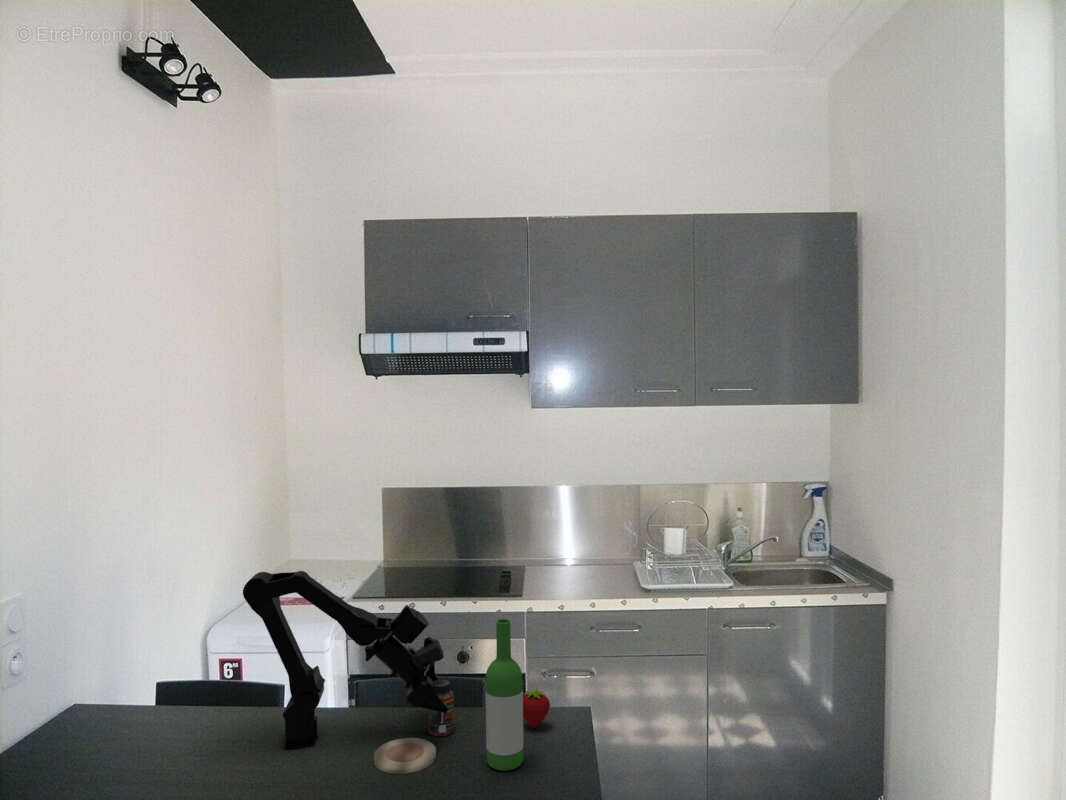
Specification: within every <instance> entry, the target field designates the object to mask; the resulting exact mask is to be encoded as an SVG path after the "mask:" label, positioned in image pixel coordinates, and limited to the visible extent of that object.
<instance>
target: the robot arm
mask: <svg viewBox="0 0 1066 800" xmlns="http://www.w3.org/2000/svg"><path fill="white" fill-rule="evenodd" d="M295 593H296V594H297V595H299V596H300V597H302V598H304V600H305V601H307V602H308V603H310V604H311V605H313V606H315V607H316V608H317V609H319V610H320V611H321V612H323V613H325V614H326V615H328V616H329V617H330V618H331V619H333V620H334V621H336V623H337V624H339V625H340V626H341V628H342V629H343V631H344V633H346V635H347V636H348V637H349V638H350V639H351V640H352V641H353V642H354V643H355V644H356V645H358V646H361V647H365V648H364V651H365V662H369V661H370V660H371V659H372V658H373V657H375V658H377V659H378V660H379V661H380V662H381V663H383V664H384V665H385V666H386V667H387V668H388V669H389V670H390V671H391V672H390V675H392V676H393V677H396V676H397V677H398V678H399V679H400V680H401V681H402V682H403V683H404V687H405V688H406V689H407V693H406V703H407V704H408V705H409V706H410V707H411V708H412V709H414V708H415V709H417V708H422V709H427V710H428V709H431V710H435V711H439V712H442V713H446V712H447V711H448V710H449V709H448V707H447V706H446V705H445V703H444V702H443V701H442V700H441V698H440V697H439V696H438V695H437V693H436V692H435V682H434V681H436V680H441V679H440V678H439V677H438V674H437V673H436V668H435V666H436V665H435V663H436V662H440V661H441V660H443V659H444V657H445V656H444V650H443V649H442V648H443V647H442V646H441V644H440V641H438V639H437V638H436V639H433V638H432V637H430V636H427V637H426V638H424V639H423V646H420V648H419V649H417V650H415V649H414V648H413V647H409V648H407V647H406V645H408V644H412V643H413V642H414V641H415V640H416V639H417V638H418V637H419V636H420V635H421V634H422V633H423V631H424V630H425V629H427V627H428V626H429V625H430V623H429V622H428V620H427V619H426V617H425V616H424V615H423V614H422V613H421V612H420V611H419V610H416V609H415V608H413V607H411V606H409V604H405V605H404V607H402V610H401V611H400V612H399V613H398V614H397V615H396V616H395V617H394V618H390V617H389V618H388V617H380V616H379V617H378V616H377V615H375V614H374V613H372V612H369V611H368V610H366V609H363V608H360V607H356V606H354V605H352V604H350V603H348V602H346V601H345V600H343V599H342V598H341V597H339V596H338V595H337V594H335V593H334V592H332V591H331V590H330V589H328V588H327V587H326V586H324V585H323V584H321V583H320V582H319V581H317V580H315V579H314V578H313V577H311V576H310V575H309V574H308V573H307V572H306V571H304V570H298V571H294V572H278V573H277V572H276V573H271V572H268V571H260V572H257V573H256V574H254V575H253V576H252V577H251V578H250V579H249V580H248V581H247V582H246V583H245V584H244V587H243V589H242V596H243V599H244V600H245V602H246V603H247V604H248V606H249V607H250V609H251V610H252V611H253V612H254V613H256V614H257V615H258V616H259V617H260V618H261V619H262V621H263V623H264V625H265V628H266V630H267V632H268V634H269V636H270V638H271V641H272V643H273V645H274V648H275V649H276V652H277V654H278V656H279V659H280V660H281V662H282V664H283V667H284V669H285V672H286V674H287V676H288V683H289V692H290V698H289V701H288V702H287V704H286V706H285V709H284V710H283V713H282V717H283V719H284V736H285V737H284V739H285V740H284V745H283V746H284V750H291V749H297V748H306V747H312V746H313V747H314V746H315V745H316V740H317V739H318V738H319V735H318V734H319V731H318V730H319V724H318V723H319V722H318V721H319V719H318V715H315V714H316V709H317V708H318V706H319V704H320V702H321V699H322V696H323V694H324V690H325V683H326V679H325V678H324V677H323V675H322V674H321V670H320V667H319V665H316V666H315V667H313V668H312V666H310V665H309V664H308V663H307V660H306V659H305V658H304V656H303V653H302V651H301V648H300V646H299V644H298V642H297V640H296V638H295V635H294V633H293V631H292V629H291V627H290V625H289V621H288V620H287V618H286V616H285V613H284V611H283V609H282V606H281V598H280V597H282V596H286V595H289V594H295ZM433 682H434V683H433Z"/></svg>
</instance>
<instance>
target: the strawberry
mask: <svg viewBox="0 0 1066 800" xmlns="http://www.w3.org/2000/svg"><path fill="white" fill-rule="evenodd" d="M534 686H535V689H534V690H533V691H528V690H525V691H524V692H523V720H525V721H526V722H527V723H528V724H529V726H530V728H532V729H536V728H538V727H539V725H540V724H541V723H542V722H543V721H544V720H545V718H546V717H547V716H548V714H549V711H550V707H551V703H550V699H549V698H548V697H547V696H546V694H544V693H545V692H544V691H541V690H539V688H537V684H536V683H534Z"/></svg>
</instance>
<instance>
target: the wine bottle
mask: <svg viewBox="0 0 1066 800" xmlns="http://www.w3.org/2000/svg"><path fill="white" fill-rule="evenodd" d="M495 626H496V639H495V641H496V657H495V658H494V660H492V662H491V663H490V664H489V666H488V667H487V670H486V672H485V728H486V729H485V730H486V731H485V733H486V734H485V737H486V739H485V740H486V741H485V742H486V744H485V746H486V762H487V764H488V766H489V767H491V768H492V769H495V770H497V771H512V770H514V769H517V768H518V767H520V766H521V765H522V763H523V760H524V718H523V695H524V694H523V693H524V691H523V690H524V689H523V672H522V670H521V669H522V668H521V667H520V665H519V664H518V662H517V661H516V660H514V659H513V658H512V652H511V651H512V648H511V645H512V644H511V643H512V640H511V639H512V638H511V637H512V636H511V620H510V619H508V618H499V619H497V620H496V625H495Z"/></svg>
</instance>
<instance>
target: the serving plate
mask: <svg viewBox="0 0 1066 800" xmlns="http://www.w3.org/2000/svg"><path fill="white" fill-rule="evenodd" d="M436 758H437V749H436V746H435V745H434V743H432V742H430V741H429V740H426V739H423V738H417V737H404V738H398V739H394V740H390V741H388V742H385V743H383V744H381V746H379V747H378V748H377V749H376V750H375V752H374V753H373V764H374V766H375V767H376V768H377V769H378V770H380V771H381V772H384V773H388V774H393V775H394V774H395V775H405V774H410V773H417V772H419V771H421V770H424V769H427V768H428V767H429V766H430V765H432V764H433V763H434V762H435V760H436Z"/></svg>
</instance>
